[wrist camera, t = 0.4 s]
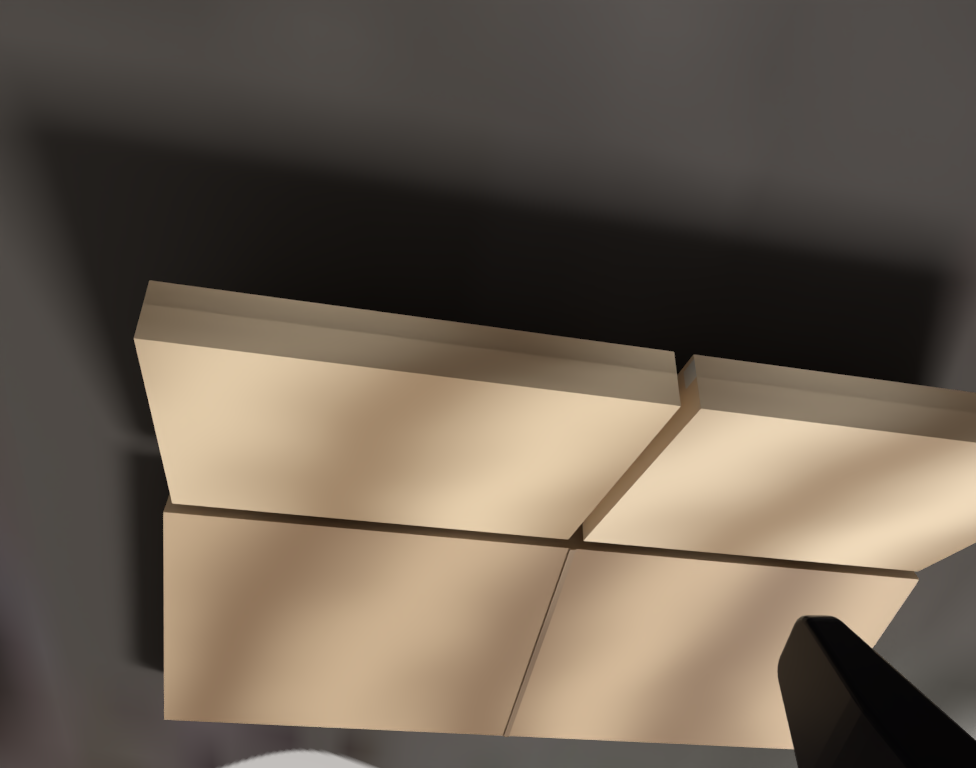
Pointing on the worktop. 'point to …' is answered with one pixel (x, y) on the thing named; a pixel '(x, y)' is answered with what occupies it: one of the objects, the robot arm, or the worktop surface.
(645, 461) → the plank
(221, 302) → the plank
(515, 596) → the floor strip
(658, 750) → the worktop surface
